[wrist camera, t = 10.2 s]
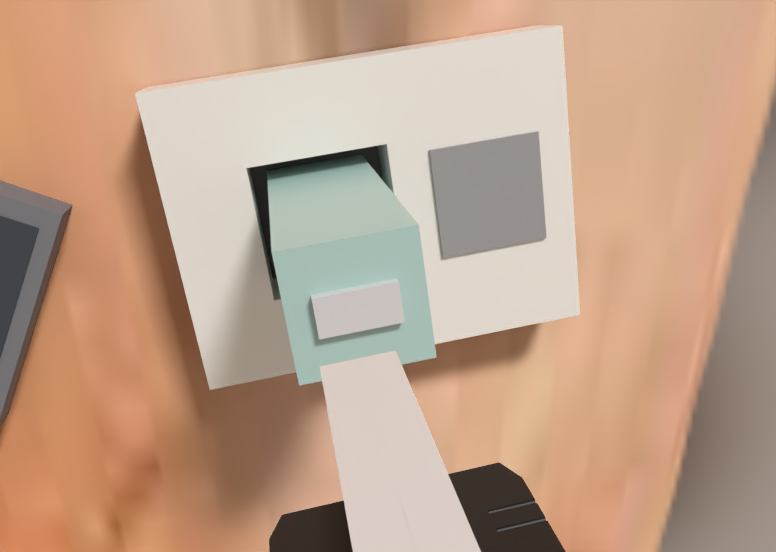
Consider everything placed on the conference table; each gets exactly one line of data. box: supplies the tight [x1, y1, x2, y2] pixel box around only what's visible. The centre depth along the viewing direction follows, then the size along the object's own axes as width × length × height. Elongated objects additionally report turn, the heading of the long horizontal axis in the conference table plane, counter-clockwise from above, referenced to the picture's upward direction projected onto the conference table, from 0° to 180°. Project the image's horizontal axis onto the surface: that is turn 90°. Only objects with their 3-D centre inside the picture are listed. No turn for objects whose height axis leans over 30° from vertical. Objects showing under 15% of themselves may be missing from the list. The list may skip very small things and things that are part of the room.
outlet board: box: [135, 25, 580, 390], centre depth 31 cm, size 12×16×3 cm
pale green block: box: [267, 154, 436, 386], centre depth 26 cm, size 4×4×12 cm
